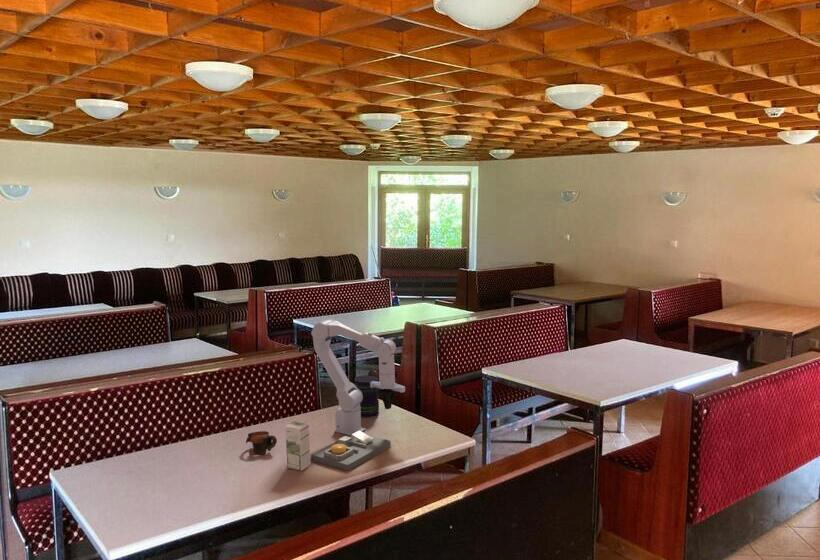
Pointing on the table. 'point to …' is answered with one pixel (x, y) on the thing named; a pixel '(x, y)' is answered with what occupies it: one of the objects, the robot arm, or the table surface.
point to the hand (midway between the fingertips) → (388, 408)
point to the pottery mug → (261, 442)
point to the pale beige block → (345, 441)
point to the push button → (338, 449)
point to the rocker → (362, 437)
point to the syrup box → (298, 445)
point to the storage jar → (368, 395)
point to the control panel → (351, 453)
